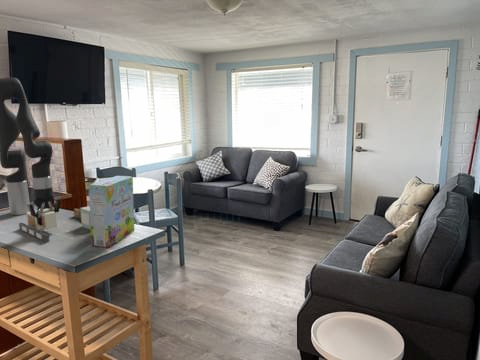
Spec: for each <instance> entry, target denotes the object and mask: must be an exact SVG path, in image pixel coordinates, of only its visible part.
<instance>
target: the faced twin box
mask: <svg viewBox="0 0 480 360" xmlns="http://www.w3.org/2000/svg"><path fill="white" fill-rule="evenodd" d="M35 212H36V210H35ZM26 220H27V225H28V226H30V227H32V228H35V229H37V230H39V231H41V230H45V229H44V228H41V227H39V226H37V219H36V217H33V216H32V215H31V213H30V212H27V213H26Z"/></svg>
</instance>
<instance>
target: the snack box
mask: <svg viewBox="0 0 480 360" xmlns="http://www.w3.org/2000/svg"><path fill="white" fill-rule="evenodd" d="M133 178H134V177H133V176H129V175H115V176H112V177H109V178H105V179H102V180H99V181H96V182H94V183H90V184H88V196H89V197H88V198H89V203H90V205H89V206H90V219H91V230H90V234H91V235H90V236H91V247H101V248H110V247H112V246H113V245H115V244H117V242H119V241H120V240H122V239H124V238H126V237H127V236H129V235H130V234H131V233H133V232H134V231H135V213H134V212H135V211H134V210H135V209H134V208H135V207H134V180H133Z"/></svg>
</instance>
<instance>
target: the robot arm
mask: <svg viewBox="0 0 480 360" xmlns="http://www.w3.org/2000/svg"><path fill="white" fill-rule="evenodd" d="M8 100H9V101H10V100H17V101H18V110H17V113H16V115H15V113H14V112H12V111H11V110H10V109H9V107H7V105H6V104H5V101H8ZM37 125H38V124H37V123H36V121H35V119H34V117H33V114H32V111H31V108H30V105H29V102H28V99H27V96H26V93H25V90H24V87H23V85H22V83H21V81H20V80H19V79H18V78H17V77H4V78H0V165H1V168H3V169H7V170H8V169H10V170H11V169H17V170H16V171H15V172H12V173H11V174H7V176H6V177H5V182H6V189H7V199H8V206H9V214H10V215H12V216H19V215H27V212H30V213H31V215H32V216H33V217H36V218H37V224H39V225H40V226H41V225H42V217H41V215H42V212H43V210H44V209H48V210H51V211H53V212H56V213H59V211H60V208H61V202H62V200H61V199H60V198H54V191H53V190H54V189H53V182H52V177H51V161H52V157H53V150H54V149H53V145H52V143H50V142H49V141H48V140H36V139H38V138H39V137H40V136H41V131H40V128H39V127H38V126H37ZM20 135H21V136H22V141H23V142H22V143H23V149H24V150H22V149H14V150H13V149H11V150H10V147H12V145H13V144H14V143H15V142H16V141H17V139H18V138H19V136H20ZM34 140H36V141H34ZM26 156H27V157H28V158H30V159H37V158H38V159H39V161H37V162H35V163H32V165H31V175H32V179H31V181H32V190H33V198H34V199H33V202H31V203H30V196H29V195H30V194H29V187H28V186H29V185H28V179H27V172H26ZM53 204H54V206H53ZM35 207H36V210H35ZM35 211H37V212H35Z"/></svg>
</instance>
